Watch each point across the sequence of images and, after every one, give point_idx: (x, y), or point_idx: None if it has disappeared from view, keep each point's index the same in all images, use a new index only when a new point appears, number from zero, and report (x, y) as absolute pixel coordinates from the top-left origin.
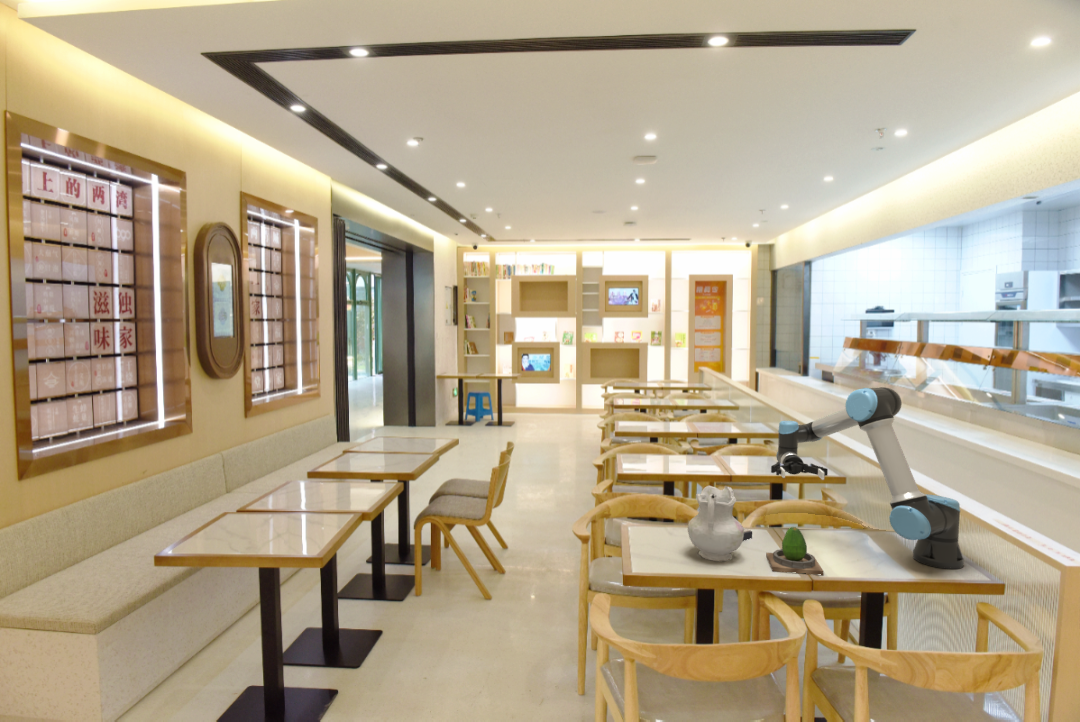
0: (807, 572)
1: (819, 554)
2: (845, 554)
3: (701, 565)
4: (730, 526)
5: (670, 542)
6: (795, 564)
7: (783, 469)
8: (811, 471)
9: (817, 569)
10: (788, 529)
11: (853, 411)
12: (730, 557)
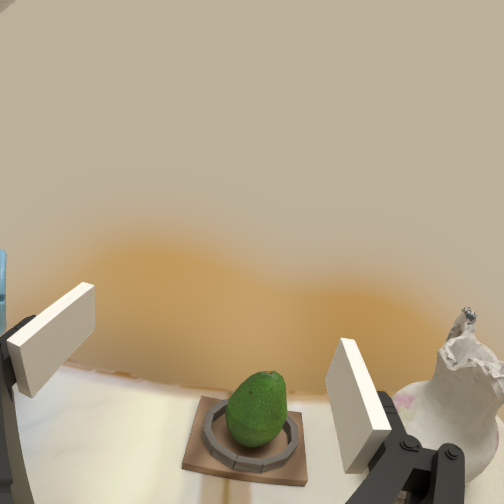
0: None
1: (142, 500)
2: (65, 485)
3: None
4: (414, 385)
5: (500, 498)
6: None
7: (354, 362)
8: (18, 450)
9: (210, 402)
10: (283, 380)
11: None
12: None
